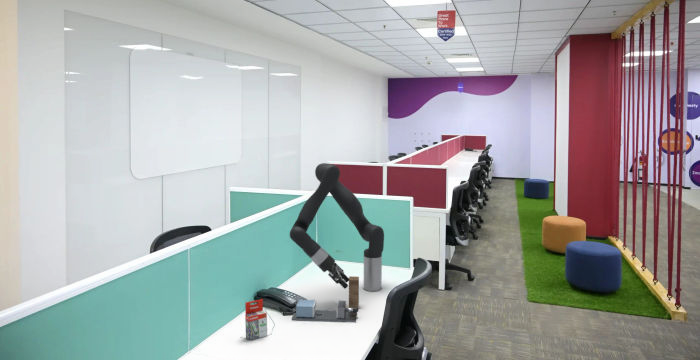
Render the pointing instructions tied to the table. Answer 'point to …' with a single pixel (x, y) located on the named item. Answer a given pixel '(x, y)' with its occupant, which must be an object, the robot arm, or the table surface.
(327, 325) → the table surface
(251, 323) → the ink box
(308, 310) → the sliding jaw
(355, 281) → the walnut block
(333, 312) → the vise
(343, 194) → the robot arm
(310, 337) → the table surface
